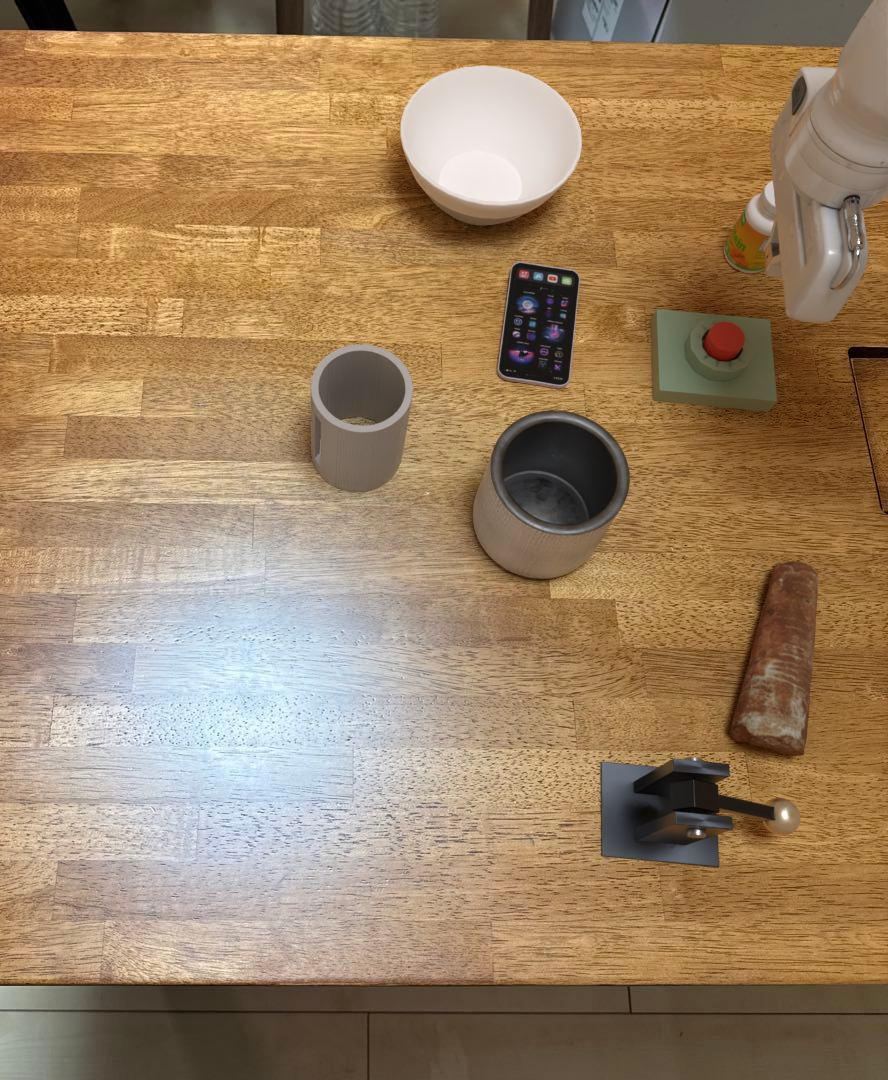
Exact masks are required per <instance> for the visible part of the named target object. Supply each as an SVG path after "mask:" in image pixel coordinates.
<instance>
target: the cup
mask: <svg viewBox="0 0 888 1080" xmlns="http://www.w3.org/2000/svg"><path fill="white" fill-rule="evenodd" d="M310 381H311V382H310V455H311V460H312V463H313V466H314V468H315V470H316V471H317V473H318V474H319V476H321V478H323V480H325V482H327V483H328V484H330V485H331V486H333V487H335V488H338V489H340V490H343V491H346V492H351V493H362V492H369V491H372V490H376V489H377V488H380V487H383V486H384V485H385V484H386V483H388V482H389V481H390V480H392V478H393V477H394V476H395V475H396V474H397V472H398V470H399V468H400V466H401V463H402V460H403V454H404V448H405V442H406V438H407V437H406V436H407V432H408V431H407V430H408V427H409V426H408V424H409V419H410V414H411V409H412V408H411V407H412V402H413V395H414V386H413V385H414V383H413V380H412V376H411V374H410V372H409V369H408V368H407V366H406V365H405V364H404V363H403V361H402V360H401V359H399V357H397V356H396V355H395V354H394V353H393V352H390V351H388V350H387V349H384V348H382V347H379V346H377V345H376V346H375V345H371V344H367V343H366V344H365V343H364V344H363V343H362V344H349V345H345V346H342V347H340V348H336V349H334V350H333V351H332V352H330V353H328V354H327V355H326V356H325V357H324V358H323V359H322V360H321V361H320V362H319V363H318V364H317V365H316V368H315V370H314V372H313V374H312V377H311V379H310ZM348 418H364V419H368V420H372V421H373V422H376V423H374V424H369V425H357V424H353V423H352V424H351V423H348V422H345V421H343V420H344V419H348Z"/></svg>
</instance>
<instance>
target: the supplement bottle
mask: <svg viewBox="0 0 888 1080" xmlns="http://www.w3.org/2000/svg"><path fill="white" fill-rule="evenodd" d="M775 216H776V207H775V197H774V186H773V180H771V181H769V182H768V183H767V184H766V185H765V187H764V188H763V190H762V191H761V192H760V193H757V194H756V195H754V196H753V197H752V198H751V199H750V200H749V201H748V202H747V204H746V206H745V208H744V210H743V211H742V213H741V214H740V216H739V218H738V220H737V221H736V223H735V225H734V227H733V229H732V230H731V232H730V234H729V236H728V238H727V239H726V241H725V243H724V245H723V256H724V255H725V256H724V259H725V260H726V262H727V263H728V264H729V266H731V267H732V268H733V269H735V270H736V271H738V270H739V272H741V273H744V274H758V273H761V272H763V271H764V270H766V268H765V258H764V246H765V245H766V243H767V242H768V240H769V239H770V235H771V231H772V227H773V223H774V220H775Z"/></svg>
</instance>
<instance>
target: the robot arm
mask: <svg viewBox="0 0 888 1080" xmlns="http://www.w3.org/2000/svg"><path fill="white" fill-rule="evenodd" d="M790 88H791V89H790V91H791V92H790V94H789V95H788V97H787V98H786V101H784V103H783V106H782V108H781V110H780V112H779V114H778V116H777V118H776V120H775V122H774V125H773V127H772V130H771V134H770V139H769V145H768V146H769V156H770V164H771V166H770V167H771V176H772V181H773V186H774V197H775V207H776V216H775V220H774V223H773V227H772V231H771V235H770V239H769V240H768V242H767V243H766V245H765V246H764V258H765V268H766V269H764V270H765V276H766V277H768V278H776V279H777V278H778V279H780V278H781V279H782V289H783V300H784V310H785V315H786V317H787V318H788V319H790V320H794V321H798V322H804V323H812V324H815V323H816V324H824V323H825V324H827V323H830V322H831V321H833V320H834V319H835V318H836V317H837V316H838V314H839V313H840V311H841V310H842V309H843V307H844V306H845V304H846V303H847V302H848V300H849V298H850V297H851V296H852V294H853V293H854V291H855V289H856V287H857V286H858V284H859V282H860V281H861V279H862V277H863V275H864V273H865V270H866V267H867V264H868V261H869V260H868V259H869V244H868V237H867V236H868V235H867V229H866V221H865V215H864V209H868V208H872V207H874V206H876V205H878V204H880V203H882V202H883V201H885V199H886V198H888V0H872V1H871V3H870V5H869V6H868V8H867V9H866V11H865V12H864V14H863V15H862V17H861V18H860V20H859V21H858V23H857V25H856V26H855V27H854V29H853V31H852V32H851V34H850V36H849V38H848V39H847V41H846V42H845V44H844V46H843V48H842V49H841V51H840V53H839V56H838V60H837V63H836V67H826V66H825V67H824V66H802V67H800V68H799V70H798V71H797V73H796V75H795V76H794V78H793V80H792V83H791V87H790Z"/></svg>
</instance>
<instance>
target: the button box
mask: <svg viewBox="0 0 888 1080" xmlns="http://www.w3.org/2000/svg"><path fill="white" fill-rule="evenodd" d="M649 322H650V349H651V351H650V354H651V379H652V380H651V381H652V383H651V384H652V401H653V402H660V403H671V404H680V405H682V404H683V405H691V406H703V407H712V408H724V409H735V410H745V411H755V412H765V413H766V412H770V411H771V409H772V408H773V407H774V406H775V405H776V403H777V402H778V393H777V384H776V383H777V382H776V373H775V360H774V359H775V358H774V349H773V338H772V337H773V336H772V327H771V319H769V318H757V317H746V316H738V315H737V316H736V315H727V314H714V313H705V312H695V311H684V310H683V311H682V310H672V309H661V308H656V309H655V311H654V314H653V315H652V317H651V319H650V321H649ZM719 322H730V323H733V324H735V325H737V326H738V327H739V328H740V329H741V330H742V331H743V333H744V335H745V343H744V345H743V347H742V348H741V350H740V351H739V353H738V354H737V355H736V357H735V358H733V359H731V360H728V361H719V360H716V359H714V358H712V357H711V356H709V355H708V354H707V352H706V351H705V349H704V339H705V337H706V336H707V334H708V332H709V331H710V329H711V328H712V326H713V325H715V324H716V323H719Z"/></svg>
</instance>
